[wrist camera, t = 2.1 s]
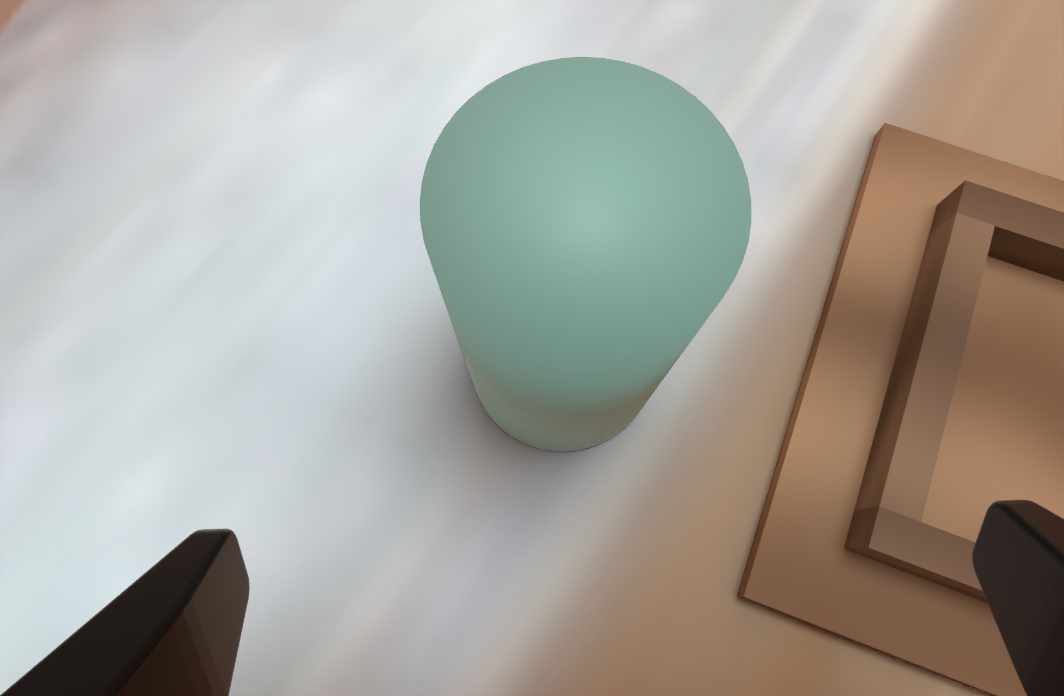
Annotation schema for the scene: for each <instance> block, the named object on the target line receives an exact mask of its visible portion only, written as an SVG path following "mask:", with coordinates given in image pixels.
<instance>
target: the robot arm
mask: <svg viewBox="0 0 1064 696" xmlns="http://www.w3.org/2000/svg"><path fill="white" fill-rule="evenodd" d="M972 561H973V567H974V571H975V574H976V576H977V578H978V581H979V583H980V586H981V588H982V591H983V593H984V595H985V598H986V600H987V603H988V605H989V608H990V610H991V612H992V615H993V617H994V620H995V622H996V625H997V627H998V629H999V632H1000V634H1001V637H1002V639H1003V642H1004V644H1005V646H1006V649H1007V651H1008V654H1009V656H1010V658H1011V661H1012V663H1013V666H1014V668H1015V671H1016V673H1017V675H1018V677H1019V680H1020V682H1021V684H1022V686H1023V688H1024V691H1025V693H1026V695H1027V696H1064V519H1063V518H1062V517H1060V516H1058V515H1056V514H1054V513H1053V512H1051V511H1049V510H1047V509H1046V508H1044V507H1042V506H1040V505H1039V504H1037V503H1035V502H1033V501H1029V500H1001V501H996V502H993V503H992V504H991V505H990V506H989V507H988V509H987V512H986V514H985V517H984V520H983V523H982V526H981V528H980V531H979V534H978V537H977V540H976V542H975V545H974V548H973V554H972ZM248 598H249V578H248V574H247V570H246V567H245V564H244V560H243V557H242V553H241V550H240V547H239V543H238V540H237V537H236V535H235V533H234V532H233V531H232V530H229V529H203V530H198V531H196V532H194V533H192V534H191V535H190V536H188V537H187V538H186V539H185V540H184V541H183V542H181V543H180V544H179V545H178V546H177V547H175V548H174V549H173V550H172V551H171V552H169V553H168V554H167V555H166V556H165V557H164V558H162V559H161V560H160V561H159V562H158V563H156V564H155V565H154V566H153V567H152V568H151V569H149V570H148V571H147V572H146V573H145V574H143V575H142V576H141V577H140V578H139V579H138V580H136V581H135V582H134V583H133V584H132V585H130V586H129V587H128V588H127V589H126V590H124V591H123V592H122V593H121V594H120V595H119V596H117V597H116V598H115V599H114V600H113V601H111V602H110V603H109V604H108V605H107V606H106V607H104V608H103V609H102V610H101V611H100V612H98V613H97V614H96V615H95V616H94V617H93V618H91V619H90V620H89V621H88V622H87V623H85V624H84V625H83V626H82V627H81V628H80V629H78V630H77V631H76V632H75V633H74V634H72V635H71V636H70V637H69V638H68V639H66V640H65V641H64V642H63V643H62V644H61V645H59V646H58V647H57V648H56V649H55V650H53V651H52V652H51V653H50V654H49V655H48V656H46V657H45V658H44V659H43V660H42V661H40V662H39V663H38V664H37V665H36V666H35V667H33V668H32V669H31V670H30V671H29V672H27V673H26V674H25V675H24V676H23V677H21V678H20V679H19V680H18V681H17V682H16V683H14V684H13V685H12V686H11V687H10V688H8V689H7V690H6V691H5V692H4V693H3V694H1V695H0V696H229V691H230V686H231V681H232V676H233V671H234V666H235V661H236V657H237V652H238V647H239V642H240V637H241V632H242V627H243V622H244V618H245V613H246V608H247V603H248Z"/></svg>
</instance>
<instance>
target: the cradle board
mask: <svg viewBox="0 0 1064 696" xmlns="http://www.w3.org/2000/svg"><path fill="white" fill-rule="evenodd" d="M1001 500H1029V501H1033V502H1035V503H1037V504H1039V505H1040V506H1042V507H1044V508H1046V509H1047V510H1049V511H1051V512H1053V513H1054V514H1056V515H1058V516H1060V517H1062V518H1063V519H1064V181H1062V180H1059V179H1055V178H1052V177H1049V176H1046V175H1043V174H1040V173H1037V172H1034V171H1031V170H1028V169H1025V168H1022V167H1019V166H1016V165H1013V164H1009V163H1006V162H1003V161H1000V160H997V159H994V158H991V157H988V156H985V155H982V154H979V153H976V152H973V151H970V150H967V149H963V148H960V147H957V146H954V145H951V144H948V143H945V142H942V141H939V140H936V139H933V138H930V137H927V136H924V135H920V134H917V133H914V132H911V131H908V130H905V129H902V128H899V127H896V126H893V125H890V124H887V123H885V124H884V125H883V126H882V127H881V129H880V130H879V131H878V132H877V134H876V137H875V140H874V143H873V147H872V150H871V153H870V156H869V160H868V163H867V166H866V170H865V173H864V176H863V180H862V183H861V186H860V190H859V193H858V196H857V200H856V203H855V206H854V210H853V213H852V216H851V220H850V223H849V226H848V230H847V233H846V236H845V240H844V243H843V246H842V250H841V253H840V256H839V260H838V263H837V266H836V270H835V273H834V276H833V280H832V283H831V286H830V290H829V293H828V296H827V300H826V303H825V306H824V310H823V313H822V316H821V320H820V323H819V326H818V330H817V333H816V336H815V340H814V343H813V346H812V350H811V353H810V356H809V360H808V363H807V366H806V370H805V373H804V376H803V380H802V383H801V386H800V389H799V393H798V396H797V399H796V403H795V406H794V409H793V413H792V416H791V419H790V423H789V426H788V429H787V433H786V436H785V439H784V443H783V446H782V449H781V453H780V456H779V459H778V463H777V466H776V469H775V473H774V476H773V479H772V483H771V486H770V489H769V493H768V496H767V499H766V503H765V506H764V509H763V513H762V516H761V519H760V523H759V526H758V529H757V533H756V536H755V539H754V543H753V546H752V549H751V553H750V556H749V559H748V563H747V566H746V569H745V573H744V576H743V579H742V583H741V586H740V589H739V593H738V596H740V597H743V598H746V599H748V600H751V601H753V602H756V603H758V604H761V605H763V606H766V607H769V608H771V609H774V610H776V611H779V612H781V613H784V614H787V615H789V616H792V617H794V618H797V619H799V620H802V621H804V622H807V623H810V624H812V625H815V626H817V627H820V628H822V629H825V630H828V631H830V632H833V633H835V634H838V635H840V636H843V637H845V638H848V639H851V640H853V641H856V642H858V643H861V644H863V645H866V646H869V647H871V648H874V649H876V650H879V651H881V652H884V653H886V654H889V655H892V656H894V657H897V658H899V659H902V660H904V661H907V662H910V663H912V664H915V665H917V666H920V667H922V668H925V669H927V670H930V671H933V672H935V673H938V674H940V675H943V676H945V677H948V678H951V679H953V680H956V681H958V682H961V683H963V684H966V685H968V686H971V687H974V688H976V689H979V690H981V691H984V692H986V693H989V694H992V695H994V696H1027V695H1026V693H1025V691H1024V688H1023V686H1022V684H1021V682H1020V680H1019V677H1018V675H1017V673H1016V671H1015V668H1014V666H1013V663H1012V661H1011V658H1010V656H1009V654H1008V651H1007V649H1006V646H1005V644H1004V642H1003V639H1002V637H1001V634H1000V632H999V629H998V627H997V625H996V622H995V620H994V617H993V615H992V612H991V610H990V608H989V605H988V603H987V600H986V598H985V595H984V593H983V591H982V588H981V586H980V583H979V581H978V578H977V576H976V574H975V571H974V567H973V561H972V554H973V548H974V545H975V542H976V540H977V537H978V534H979V531H980V528H981V526H982V523H983V520H984V517H985V514H986V512H987V509H988V507H989V506H990V505H991V504H992V503H993V502H996V501H1001Z"/></svg>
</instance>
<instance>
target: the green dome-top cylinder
mask: <svg viewBox="0 0 1064 696" xmlns="http://www.w3.org/2000/svg"><path fill="white" fill-rule="evenodd" d="M420 221H421V227H422V233H423V238H424V243H425V246H426V249H427V252H428V255H429V258H430V261H431V264H432V267H433V270H434V273H435V276H436V278H437V281H438V284H439V287H440V290H441V293H442V296H443V299H444V301H445V304H446V307H447V310H448V313H449V316H450V319H451V322H452V324H453V327H454V330H455V333H456V336H457V339H458V342H459V345H460V347H461V350H462V353H463V356H464V359H465V362H466V365H467V367H468V370H469V373H470V376H471V379H472V382H473V385H474V388H475V390H476V393H477V396H478V398H479V400H480V402H481V404H482V406H483V408H484V409H485V411H486V412H487V414H488V415H489V417H490V418H491V419H492V420H493V421H494V422H495V423H496V425H498V426H499V427H500V428H501V429H502V430H503V431H504V432H506V433H507V434H508V435H510V436H511V437H513V438H514V439H516V440H518V441H520V442H522V443H524V444H526V445H529V446H531V447H534V448H537V449H542V450H547V451H554V452H571V451H579V450H584V449H588V448H591V447H594V446H597V445H599V444H601V443H603V442H605V441H607V440H609V439H611V438H612V437H614V436H615V435H617V434H618V433H620V432H621V431H622V430H623V429H624V428H625V427H626V426H628V425H629V423H630V422H631V421H632V420H633V419H634V418H635V416H636V415H637V414H638V412H639V411H640V410H641V408H642V407H643V406H644V404H645V403H646V402H647V400H648V399H649V397H650V396H651V395H652V393H653V392H654V391H655V389H656V388H657V387H658V385H659V384H660V382H661V381H662V380H663V378H664V377H665V376H666V374H667V373H668V372H669V370H670V369H671V367H672V366H673V365H674V363H675V362H676V361H677V359H678V358H679V357H680V355H681V354H682V352H683V351H684V350H685V348H686V347H687V346H688V344H689V343H690V342H691V340H692V339H693V337H694V336H695V335H696V333H697V332H698V331H699V329H700V328H701V327H702V325H703V324H704V322H705V321H706V320H707V318H708V317H709V316H710V314H711V313H712V312H713V310H714V309H715V307H716V306H717V305H718V303H719V302H720V301H721V299H722V298H723V296H724V295H725V293H726V292H727V290H728V289H729V287H730V285H731V284H732V282H733V281H734V279H735V277H736V275H737V272H738V270H739V268H740V266H741V264H742V261H743V258H744V255H745V251H746V248H747V244H748V241H749V234H750V226H751V197H750V191H749V184H748V179H747V176H746V173H745V169H744V166H743V162H742V160H741V158H740V156H739V154H738V151H737V149H736V147H735V145H734V143H733V141H732V140H731V138H730V136H729V135H728V133H727V132H726V130H725V128H724V127H723V126H722V124H721V123H720V122H719V121H718V120H717V118H716V117H715V116H714V115H713V114H712V112H711V111H710V110H709V109H708V108H707V107H706V106H705V105H703V104H702V103H701V102H700V101H699V100H698V99H697V98H696V97H695V96H693V95H692V94H691V93H689V92H688V91H687V90H685V89H684V88H683V87H681V86H680V85H678V84H676V83H675V82H673V81H671V80H669V79H667V78H666V77H664V76H662V75H660V74H658V73H655V72H653V71H650V70H648V69H646V68H643V67H640V66H637V65H633V64H630V63H626V62H622V61H617V60H611V59H605V58H591V57H575V58H561V59H555V60H549V61H544V62H540V63H536V64H533V65H529V66H526V67H523V68H520V69H518V70H516V71H513V72H511V73H509V74H506V75H504V76H502V77H501V78H499V79H497V80H495V81H494V82H492V83H490V84H489V85H487V86H486V87H484V88H483V89H482V90H480V91H479V92H478V93H476V94H475V95H474V96H472V97H471V98H470V99H469V100H468V101H467V102H466V103H465V104H464V105H463V106H462V107H461V108H460V109H459V110H458V111H457V112H456V113H455V114H454V116H453V117H452V118H451V120H450V121H449V122H448V123H447V125H446V126H445V127H444V129H443V131H442V132H441V134H440V136H439V138H438V139H437V141H436V143H435V144H434V147H433V149H432V152H431V154H430V156H429V159H428V161H427V164H426V168H425V172H424V176H423V180H422V187H421V196H420Z"/></svg>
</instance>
